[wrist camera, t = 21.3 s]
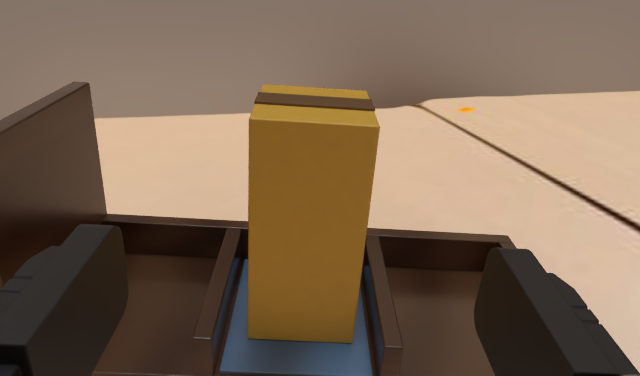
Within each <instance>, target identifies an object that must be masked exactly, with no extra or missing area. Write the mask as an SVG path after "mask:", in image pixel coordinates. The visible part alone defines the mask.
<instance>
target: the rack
mask: <svg viewBox="0 0 640 376" xmlns="http://www.w3.org/2000/svg"><path fill="white" fill-rule="evenodd" d="M80 224H94V225H112V226H118V227H119V228H120V229H121V232H122V236H123V244H124V252H125V261H126V269H127V277H128V286H129V292H128V301H127V306H126V309H125V312H124V314H123V317H122V318H121V320H120V322H119V324H118V326H117V328H116V330H115V332H114V334H113V335H112V337H111V339H110V341H109V343H108V345H107V347H106V349H105V351H104V353H103V354H102V356H101V358H100V360H99V362H98V364H97V366H96V368H95V370H94V371H93V373H92V375H91V376H495V374H494V372H493V370H492V367H491V365H490V363H489V360H488V358H487V356H486V353H485V351H484V349H483V346H482V344H481V342H480V339H479V337H478V335H477V332H476V329H475V323H474V306H475V301H476V297H477V294H478V290H479V286H480V282H481V278H482V274H483V270H484V267H485V263H486V259H487V255H488V253H489V251H490V250H491V249H492V248H495V247H496V248H514V249H517V248H516V247H515V245H514V244H513V242H512V241H511V239H510V238H509V237H508V236H505V235H487V234H468V233H450V232H432V231H413V230H395V229H376V228H367V233H366V241H365V249H364V257H363V265H362V273H361V281H360V289H359V297H358V305H357V313H356V321H355V329H354V337H353V343H330V342H309V341H288V340H267V339H249V338H248V221H229V220H211V219H192V218H174V217H156V216H137V215H119V214H107V211H106V203H105V196H104V188H103V181H102V174H101V166H100V159H99V151H98V144H97V137H96V129H95V122H94V115H93V107H92V100H91V93H90V85H89V83H87V82H72V83H70V84H68V85H66V86H65V87H63V88H61V89H59V90H57V91H55V92H53V93H51V94H49V95H47V96H46V97H44V98H42V99H40V100H38V101H36V102H34V103H32V104H30V105H28V106H27V107H24V108H23V109H21V110H19V111H17V112H15V113H13V114H11V115H9V116H7V117H5V118H4V119H2V120H0V289H1V288H2V287H3V286H4V285H5V284H6V283H7V281H8V280H9V279H12V278H13V275H14V274H15V273H16V272H17V271H18V270H19V269H20V268H21V266H22V265H23V264H24V263H25V262H26V261H27V260H28V259H30V258H31V257H33V256H35V255H36V254H38V253H40V252H42V251H43V250H45V249H47V248H49V247H50V246H61V244H62V243H63V242H64V241H65V240H66V239H67V238H68V236H69V235H70V234H71V233H72V232H73V231H74V229H75V228H76V227H77V226H78V225H80Z"/></svg>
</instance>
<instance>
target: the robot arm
mask: <svg viewBox="0 0 640 376" xmlns="http://www.w3.org/2000/svg"><path fill="white" fill-rule="evenodd" d="M128 292H129V286H128V277H127V269H126V261H125V252H124V244H123V236H122V232H121V229H120V228H119V227H118V226H112V225H94V224H80V225H78V226H77V227H76V228H75V229H74V231H73V232H72V233H71V234H70V235H69V236H68V238H67V239H66V240H65V241H64V242H63V243H62V244H61V246H50V247H49V248H47V249H45V250H43V251H42V252H40V253H38V254H36V255H35V256H33V257H31V258H30V259H28V260H27V261H26V262H25V263H24V264H23V265H22V266H21V268H20V269H19V270H18V271H17V272H16V273H15V274H14V275H13V278H12V279H9V280H8V281H7V283H6V284H5V285H4V286H3V287H2V288H1V289H0V376H91V375H92V373H93V371H94V370H95V368H96V366H97V364H98V362H99V360H100V358H101V356H102V354H103V353H104V351H105V349H106V347H107V345H108V343H109V341H110V339H111V337H112V335H113V334H114V332H115V330H116V328H117V326H118V324H119V322H120V320H121V318H122V317H123V314H124V312H125V309H126V306H127V301H128ZM474 323H475V329H476V332H477V335H478V337H479V339H480V342H481V344H482V346H483V349H484V351H485V353H486V356H487V358H488V360H489V363H490V365H491V367H492V370H493V372H494V374H495V376H640V373H639V372H638V371H637V369H636V368H635V367H634V366H633V364H632V363H631V362H630V360H629V359H628V358H627V357H626V355H625V354H624V353H623V351H622V350H621V349H620V348H619V346H618V345H617V344H616V342H615V341H614V340H613V338H612V337H611V336H610V335H609V333H608V332H607V331H606V329H605V328H604V327H603V326H602V325H601V324H599V320H598V319H597V318H596V317H595V315H594V314H593V313H592V311H591V310H588V309H587V305H586V304H585V302H584V301H583V300H582V298H581V297H580V296H579V295H578V293H577V292H576V291H575V289H574V288H572V287H571V286H570V285H568V284H567V283H565V282H564V281H563V280H561V279H560V278H559V277H557V276H556V275H555V274H553V273H546V271H545V270H544V268H543V267H542V266H541V264H540V263H539V262H538V260H537V259H536V257H535V256H534V255H533V253H532V252H531V251H530V250H528V249H514V248H496V247H495V248H492V249H491V250H490V251H489V253H488V255H487V259H486V263H485V267H484V270H483V274H482V278H481V282H480V286H479V290H478V294H477V297H476V301H475V306H474Z"/></svg>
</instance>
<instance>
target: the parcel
mask: <svg viewBox="0 0 640 376" xmlns="http://www.w3.org/2000/svg"><path fill="white" fill-rule="evenodd" d="M374 111H375V108H374V106H373V103H372V100H371V99H369V97H368V94H367V92H366V91H358V90H344V89H343V90H342V89H328V88H327V89H326V88H312V87H298V86H281V85H265V84H264V85H263V86H262V89H261V92H259V93H258V95H257V97H256V99H255V106H254V108H253V111H252V113H251V116H250V118H249V202H248V338H249V339H267V340H288V341H309V342H330V343H353V337H354V329H355V321H356V313H357V305H358V297H359V289H360V281H361V273H362V265H363V257H364V249H365V241H366V233H367V225H368V217H369V209H370V201H371V193H372V185H373V177H374V169H375V162H376V154H377V146H378V138H379V130H380V127H379V124H378V121H377V118H376V116H375V113H374Z"/></svg>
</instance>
